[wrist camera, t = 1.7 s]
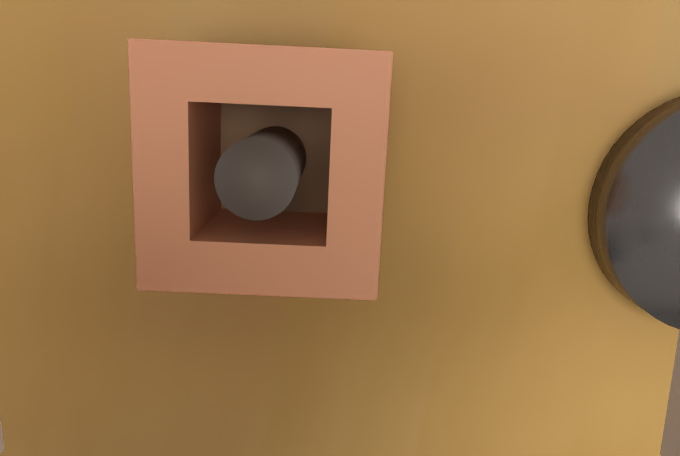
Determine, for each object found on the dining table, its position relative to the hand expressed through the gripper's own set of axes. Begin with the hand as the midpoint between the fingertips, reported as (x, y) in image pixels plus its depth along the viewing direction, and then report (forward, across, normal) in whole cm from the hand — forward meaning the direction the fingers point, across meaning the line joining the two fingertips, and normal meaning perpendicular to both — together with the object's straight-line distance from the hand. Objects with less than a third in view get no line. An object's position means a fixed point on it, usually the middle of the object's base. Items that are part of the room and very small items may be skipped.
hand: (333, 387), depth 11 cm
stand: (+20, -3, +2) cm, 20 cm away
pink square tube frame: (+17, -3, +2) cm, 17 cm away
